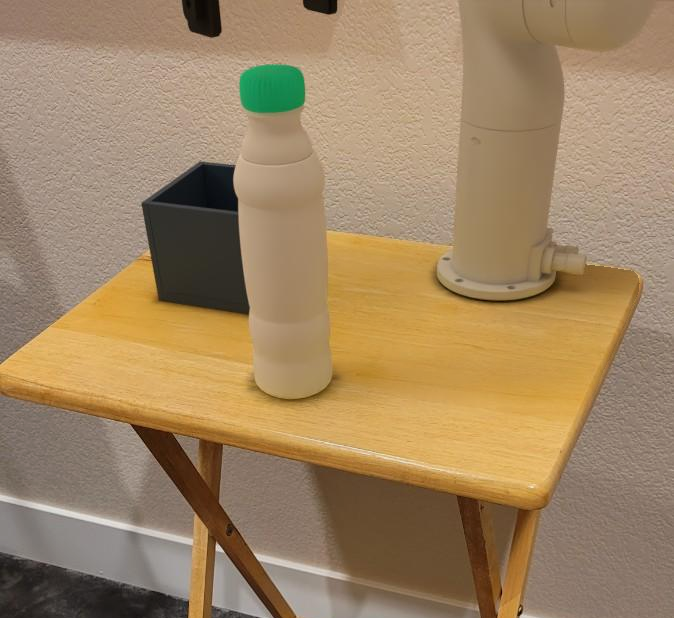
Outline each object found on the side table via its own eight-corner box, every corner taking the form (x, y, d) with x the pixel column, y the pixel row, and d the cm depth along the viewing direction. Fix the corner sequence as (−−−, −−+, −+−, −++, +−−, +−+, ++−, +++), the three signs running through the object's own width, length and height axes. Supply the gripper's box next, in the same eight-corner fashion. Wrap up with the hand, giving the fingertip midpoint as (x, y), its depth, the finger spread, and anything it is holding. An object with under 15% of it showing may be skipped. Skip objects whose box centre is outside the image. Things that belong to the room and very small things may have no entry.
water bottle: (323, 405, 77) (307, 84, 60) (246, 399, 78) (208, 82, 61) (339, 365, 82) (329, 57, 64) (266, 359, 83) (237, 56, 66)
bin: (311, 267, 98) (306, 172, 91) (265, 317, 89) (256, 216, 82) (212, 253, 101) (199, 161, 94) (158, 300, 93) (140, 202, 86)
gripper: (135, -353, 43) (186, 53, 54) (401, -344, 50) (395, 11, 62) (66, -340, 47) (126, 34, 59) (321, -333, 55) (329, -3, 66)
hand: (264, 22), depth 60 cm, fingers open, 9 cm apart
